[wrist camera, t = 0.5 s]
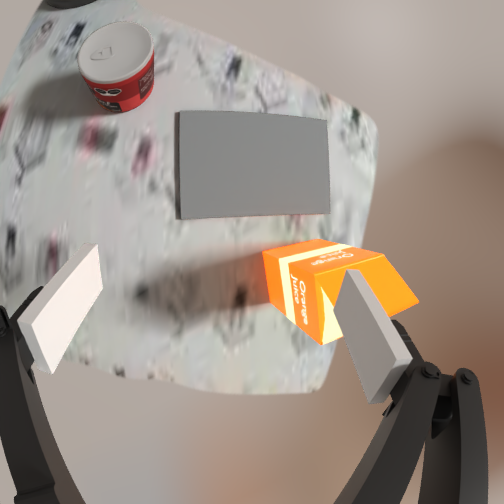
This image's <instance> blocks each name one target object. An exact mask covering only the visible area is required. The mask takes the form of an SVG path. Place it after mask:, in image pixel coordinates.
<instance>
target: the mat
mask: <svg viewBox="0 0 504 504" xmlns="http://www.w3.org/2000/svg"><path fill="white" fill-rule="evenodd" d="M179 173H180V209H181V219H197V218H216V217H237V216H262V215H294V214H330V174H329V150H328V132H327V120H321V119H314V118H306V117H298V116H289V115H279V114H267V113H253V112H235V111H180V117H179Z"/></svg>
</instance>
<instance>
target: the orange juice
mask: <svg viewBox="0 0 504 504" xmlns="http://www.w3.org/2000/svg"><path fill="white" fill-rule="evenodd" d="M262 252H263V259H264V265H265V271H266V278H267V284H268V291H269V297H270V303H272V304H273V305H274V306H275V307H276V308H277V309H279V310H280V311H281V312H282V313H283V314H284V315H286V316H287V318H288V319H290V320H291V321H292V322H293V323H294V324H296V325H297V326H299V327H300V328H301V329H302V330H303V331H304V332H306V333H307V334H308V335H309V336H310V337H312V338H313V339H314V340H315V341H316V342H318V343H319V344H320V345H323V344H325V343H328V342H331V341H333V340H336V339H338V338H340V337H343V334H342V332H341V329H340V327H339V324H338V322H337V319H336V317H335V314H334V312H333V309H334V306H335V303H336V300H337V297H338V294H339V291H340V287H341V284H342V281H343V278H344V275H345V272H346V269H354V270H359V271H360V272H361V274H362V275H363V277H364V278H365V280H366V281H367V283H368V284H369V286H370V288H371V289H372V291H373V292H374V294H375V296H376V297H377V299H378V300H379V302H380V304H381V305H382V307H383V308H384V310H385V312H386V313H387V315H388V317H390V316H392V315H394V314H396V313H398V312H400V311H402V310H405V309H407V308H409V307H411V306H413V305H414V304H417V303H419V301H418V299H417V298H416V297H415V295H414V294H413V293H412V291H411V290H410V289H409V287H408V286H407V285H406V284H405V282H404V281H403V279H402V278H401V277H400V276H399V275H398V273H397V272H396V270H395V269H394V268H393V267H392V265H391V264H390V263H389V262H388V260H387V259H386V258H385V257H384V254H380V253H376V252H372V251H368V250H363V249H359V248H355V247H352V246H348V245H344V244H338V243H334V242H329V241H325V240H321V239H315V240H311V241H306V242H302V243H297V244H293V245H289V246H284V247H280V248H275V249H271V250H266V251H262Z"/></svg>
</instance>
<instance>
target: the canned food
mask: <svg viewBox="0 0 504 504" xmlns="http://www.w3.org/2000/svg"><path fill="white" fill-rule="evenodd" d="M77 62H78V67H79V70H80V72H81V74H82V76H83V78H84V80H85V81H86V83H87V85H88V86H89V88H90V90H91V92H92V93H93V95H94V97H95V98H96V100H97V102H98V103H99V104H100V105H101V106H102V107H103V108H105V109H106V110H109V111H113V112H125V111H129V110H132V109H134V108H136V107H138V106H139V105H141V104H142V103H143V102H144V101H145V100H146V99H147V98H148V97H149V95H150V93H151V92H152V89H153V85H154V42H153V38H152V36H151V34H150V32H149V31H148V30H147V29H146V28H145V27H144V26H142V25H140V24H138V23H134V22H127V21H123V22H115V23H111V24H108V25H105V26H103V27H101V28H99V29H98V30H96V31H95V32H93V33H92V34H91V35H90V36H89V37H88V38H87V39H86V40H85V41H84V43H83V44H82V46H81V48H80V50H79V53H78V58H77Z"/></svg>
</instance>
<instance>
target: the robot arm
mask: <svg viewBox="0 0 504 504" xmlns="http://www.w3.org/2000/svg"><path fill="white" fill-rule="evenodd" d="M93 1H96V0H46V2H47V3H48V4H49V5H51V6H53V7H56V8H73V7H78V6H82V5H85V4H88V3H91V2H93ZM102 289H103V286H102V279H101V272H100V265H99V257H98V248H97V244H91V243H84V244H83V245H82V246H81V247H80V248H79V249H78V250H77V252H76V253H75V254H74V255H73V256H72V257H71V258H70V259H69V260H68V261H67V262H66V263H65V264H64V265H63V266H62V268H61V269H60V270H59V271H58V272H57V273H56V274H55V275H54V276H53V278H52V279H51V280H50V281H49V282H48V283H47V284H46V286H45V287H43V286H40V287H39V288H37V289H36V290H34V291H33V292H32V293H31V294H30V295H29V296H28V297H27V300H25V301H24V302H23V303H22V305H21V306H20V307H19V308H18V309H17V311H16V312H15V313H14V314H13V315H12V317H11V318H10V319H9V317H8V314H7V312H6V309H5V308H4V307H3V306H0V437H1V441H2V445H3V448H4V453H5V456H6V459H7V463H8V466H9V469H10V472H11V475H12V478H13V481H14V484H15V487H16V490H17V495H16V496H15V497H14V503H15V504H86V503H85V502H84V500H83V498H82V496H81V494H80V493H79V491H78V489H77V487H76V485H75V483H74V481H73V479H72V477H71V475H70V473H69V471H68V469H67V466H66V464H65V462H64V460H63V458H62V455H61V453H60V451H59V448H58V446H57V443H56V441H55V438H54V436H53V433H52V431H51V428H50V425H49V422H48V420H47V417H46V414H45V411H44V408H43V405H42V402H41V398H40V395H39V391H38V388H37V385H36V381H35V377H34V373H33V371H32V369H31V365H32V364H33V362H34V361H35V363H36V365H37V367H38V369H39V370H40V371H43V372H46V373H49V374H53V373H54V371H55V369H56V367H57V365H58V363H59V361H60V360H61V358H62V356H63V354H64V352H65V350H66V349H67V347H68V345H69V343H70V341H71V340H72V338H73V336H74V334H75V333H76V331H77V329H78V328H79V326H80V324H81V323H82V321H83V319H84V318H85V316H86V314H87V313H88V311H89V309H90V308H91V306H92V305H93V303H94V301H95V300H96V298H97V297H98V295H99V293H100V292H101V290H102ZM333 312H334V314H335V317H336V319H337V322H338V324H339V327H340V329H341V332H342V334H343V337H344V339H345V342H346V345H347V347H348V350H349V352H350V355H351V357H352V360H353V362H354V365H355V368H356V371H357V373H358V376H359V379H360V381H361V384H362V387H363V390H364V393H365V395H366V398H367V401H368V404H374V403H382V402H384V401H385V400H386V398H387V397H388V396H389V394H390V395H391V397H392V400H393V401H392V402H391V403H390V405H389V406H388V407H387V409H386V410H385V411H384V413H383V414H382V415H383V416H384V418H383V420H382V422H381V424H380V426H379V428H378V430H377V432H376V434H375V436H374V437H373V439H372V441H371V443H370V445H369V447H368V449H367V451H366V452H365V454H364V456H363V458H362V459H361V461H360V463H359V465H358V466H357V468H356V470H355V471H354V473H353V475H352V476H351V478H350V479H349V481H348V483H347V484H346V486H345V487H344V489H343V490H342V492H341V493H340V495H339V496H338V498H337V499H336V501H335V502H334V504H400V501H401V499H402V497H403V495H404V493H405V491H406V489H407V486H408V484H409V482H410V479H411V477H412V474H413V472H414V469H415V467H416V464H417V461H418V459H419V456H420V454H421V451H422V448H423V445H424V442H425V452H424V462H423V472H422V480H421V487H420V494H419V500H418V504H488V454H487V440H486V429H485V421H484V412H483V406H482V399H481V393H480V387H479V382H478V379H477V377H476V375H475V374H474V373H473V372H472V371H471V370H469V369H466V368H460V369H458V370H457V372H456V373H455V374H454V376H451V375H445V374H441V372H440V370H439V369H438V368H437V366H435V365H434V364H432V363H430V362H424V360H423V359H422V357H421V355H420V354H419V352H418V350H417V348H416V347H415V345H414V344H413V342H411V338H410V337H409V336H408V334H407V332H406V330H405V329H404V327H403V326H402V325H401V324H400V323H399V322H398V321H396V320H390V318H389V317H388V315H387V313H386V312H385V310H384V308H383V307H382V305H381V304H380V302H379V300H378V299H377V297H376V296H375V294H374V292H373V291H372V289H371V288H370V286H369V284H368V283H367V281H366V280H365V278H364V277H363V275H362V274H361V272H360V271H359V270H354V269H346V272H345V275H344V278H343V281H342V284H341V287H340V291H339V294H338V297H337V300H336V303H335V306H334V309H333Z"/></svg>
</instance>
